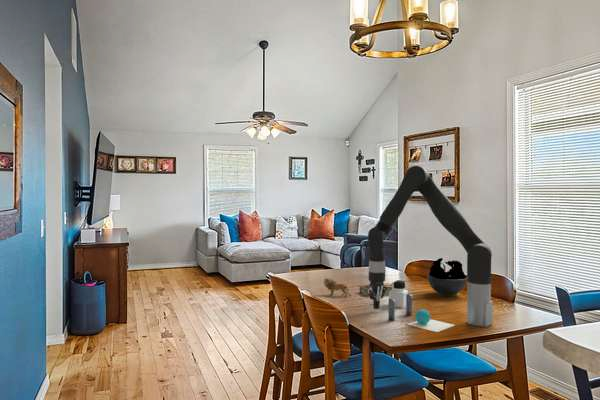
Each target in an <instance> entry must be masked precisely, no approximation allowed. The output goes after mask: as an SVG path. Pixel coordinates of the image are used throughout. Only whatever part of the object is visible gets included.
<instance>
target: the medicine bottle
mask: <svg viewBox="0 0 600 400" xmlns="http://www.w3.org/2000/svg"><path fill="white" fill-rule="evenodd" d="M391 284H392V289H393V290H391V291H389V296H388V300H389V299H395V308H399V309H403V308H406V294H409V290H407V289H406V282H405V280H401V279H397V280H396V279H395V280H392V282H391Z"/></svg>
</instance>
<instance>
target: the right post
mask: <svg viewBox="0 0 600 400" xmlns="http://www.w3.org/2000/svg"><path fill="white" fill-rule="evenodd" d="M405 315H406V316H410V317H411V316H413V294H410V293H408V294H406V306H405Z"/></svg>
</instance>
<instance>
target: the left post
mask: <svg viewBox="0 0 600 400" xmlns="http://www.w3.org/2000/svg"><path fill="white" fill-rule="evenodd" d="M395 312H396V307H395V299H389V298H388V317H387V318H388V319H387V320H388V321H389V322H395V318H396V317H395V316H396V315H395Z"/></svg>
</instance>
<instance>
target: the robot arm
mask: <svg viewBox="0 0 600 400" xmlns="http://www.w3.org/2000/svg"><path fill="white" fill-rule="evenodd" d="M416 190H417V191H418V192H419V193H420V194H421V196H423V198H424V199H425V200H426V203H427V204H428V206H429V208H430V210H431V212H432V214H433V215H434V216H435V218H436V219H437V221H438V222H439V223H440V224H441V226H442V227H443V228H445V230H446V231H447V232H448V233H449V234H451V235H452V236H453V237H454V238H455V239H456V240H457V241H458V242H459V243H460V244H461V246H462V247H463V249H464V251H466V254H467V256H466V277H467V282H466V285H467V286H466V287H467V288H466V289H467V290H466V294H467V295H466V297H467V298H466V323H467V324H469V325H471V326H474V327H475V326H476V327H485V328H486V327H489V326H492V325H493V319H494V318H493V312H494V311H493V309H494V308H493V307H494V305H493V304H494V301H492V299H491V298H492V296H491V295H492V256H493V253H492V249H491V248H490V247H489V246H488V245H487V244H486V243H485V242H484V241H483V240H482V239H481V238H480V237H479V236H478V235H477V234H476V233H475V231H474V230H473V229H472V228H471V226H470V224H469V223H468V221H467V220H466V218H465V217H464V216H463V214H462V212H461V211H460V210H459V209H458V208H457V206H456V205H455V204H454V203H453V202H452V201H451V200H450V199H449V198H448V197H447V195H445V193H444V192H443V191H442V190H441V189H440V188H439V187H438V186H437V185H436V183H435V181H434V180H433V179H432V177H431V175H430V174H429V171H428V170H427V169H426V168H425V167H423V166H421V165H412V166H410V167H409V168H407V170H406V171H405V174H404V177H403V178H402V180H401V183H400V184H399V186H398V188H397V191H396V192H395V193H394V195H393V197H392V199H391V200H390V201H389V203H388V204H387V206H386V207H385V208H384V210H383V212H381V215H380V216H379V220H378V222H377V223H376V224H375V226H374V227H372V228H370V229H369V231H368V234H367V241H368V242H367V243H368V249H369V250H368V251H369V254H368V256H369V258H368V260H369V261H368V281H369V285H370V288H369V289H367V290H366V292H367V294H368V296H367V297H369V299H370V300H372V301H373V302H372V303H373V304H372V305H373V306H372V307H373V309H375V310H378V309H380V305H381V304H380V303H381V302H380V301H381V299H383V298H384V297H385V296H384V294H385V292H386V290H387V287H385V286H384V285H385V283H384V282H386V251H385V249H384V240H385V239H386V238H387V237H388V235H389V233H390V231H391V230H392V228H393V225H394V224H395V223H396V222H397V220H398V219H399V218H400V217H401V214H402V213H403V211H404V209H405V207H406V205H407V203H408V201H409V199H410V198H411V197H412V195H413V194H414V192H415V191H416Z"/></svg>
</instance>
